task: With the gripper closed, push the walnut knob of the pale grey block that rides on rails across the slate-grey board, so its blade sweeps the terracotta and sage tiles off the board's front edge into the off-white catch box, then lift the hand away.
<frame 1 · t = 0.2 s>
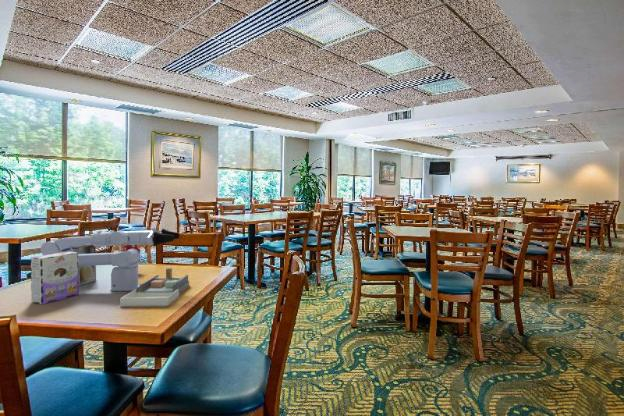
hand: (176, 236, 153), 21 cm above the table, tool horizontal, fingers open, 7 cm apart
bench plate: (165, 290, 150), on the table
decorative mushroom: (130, 273, 183), on the table
terracotta tile: (157, 286, 150), point 2 cm above the table, touching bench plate
catch box: (151, 301, 136), on the table
coffee box: (82, 283, 162), on the table
candy box: (56, 299, 138), on the table
pale grey block: (169, 275, 155), point 5 cm above the table, slide at 0.0 cm
sage tile: (172, 286, 150), point 2 cm above the table, touching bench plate
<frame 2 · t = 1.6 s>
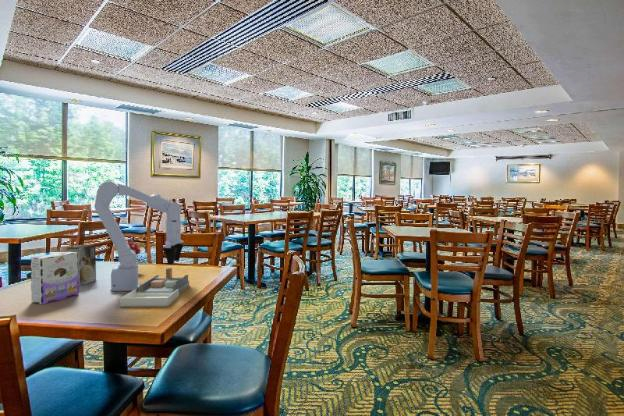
hand: (173, 262, 160), 9 cm above the table, tool pointing down, fingers open, 7 cm apart
nothing on the table moved.
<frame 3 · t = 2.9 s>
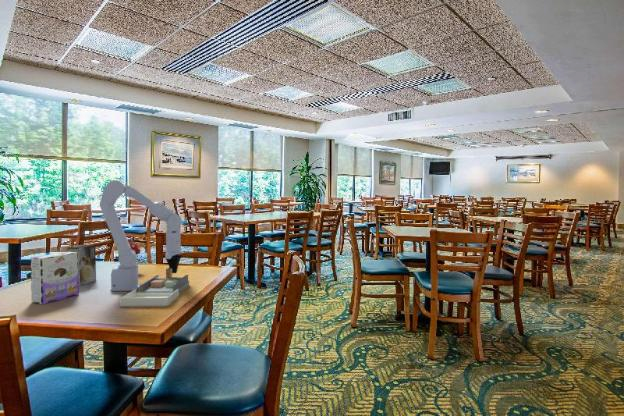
hand: (173, 272, 161), 5 cm above the table, tool pointing down, fingers closed
nothing on the table moved.
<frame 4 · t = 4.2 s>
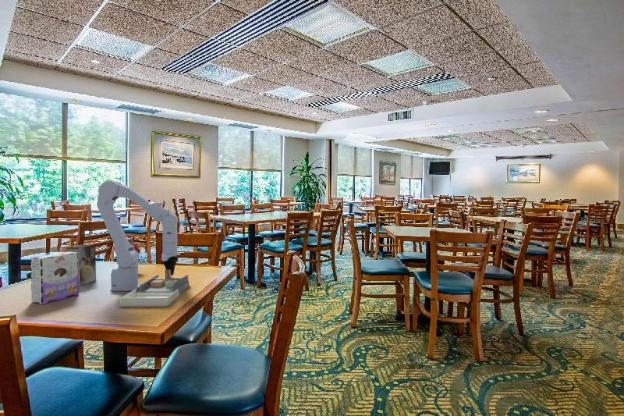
hand: (170, 275, 156), 5 cm above the table, tool pointing down, fingers closed
pale grey block: (168, 275, 154), point 5 cm above the table, slide at 1.0 cm, touching gripper
everything else where it was.
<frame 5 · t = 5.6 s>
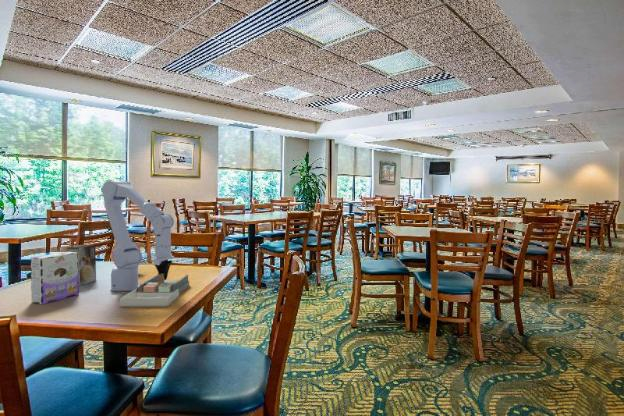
hand: (163, 279, 148), 5 cm above the table, tool pointing down, fingers closed
terracotta tile: (151, 290, 143), point 2 cm above the table
pale grey block: (161, 280, 146), point 5 cm above the table, slide at 9.1 cm, touching gripper
sage tile: (165, 290, 143), point 2 cm above the table
everything else where it was.
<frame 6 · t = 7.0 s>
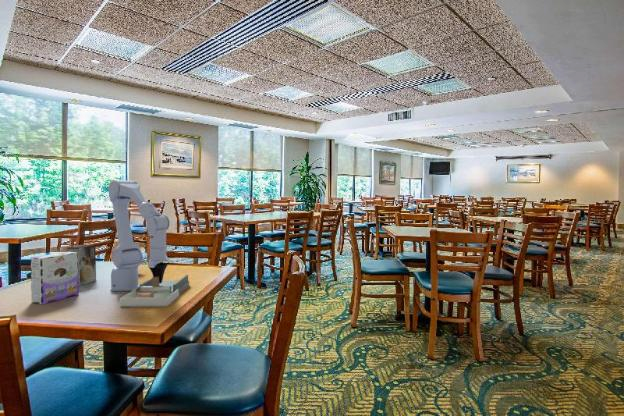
hand: (158, 283, 143), 5 cm above the table, tool pointing down, fingers closed
terracotta tile: (146, 298, 138), resting on catch box
pale grey block: (155, 283, 140), point 5 cm above the table, slide at 14.4 cm, touching gripper
sage tile: (161, 298, 138), resting on catch box
everything else where it was.
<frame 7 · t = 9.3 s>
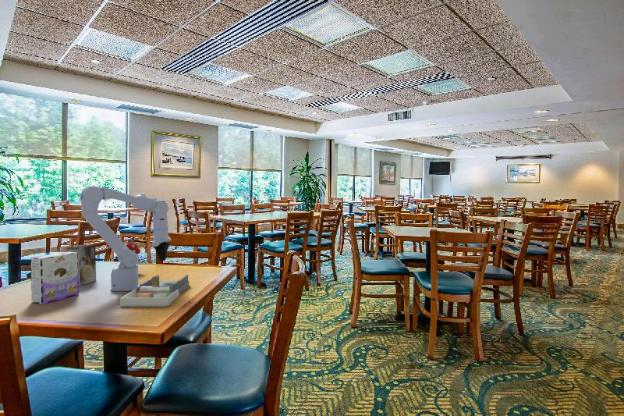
hand: (162, 260, 161), 10 cm above the table, tool pointing down, fingers closed
pale grey block: (155, 283, 140), point 5 cm above the table, slide at 14.6 cm
everything else where it was.
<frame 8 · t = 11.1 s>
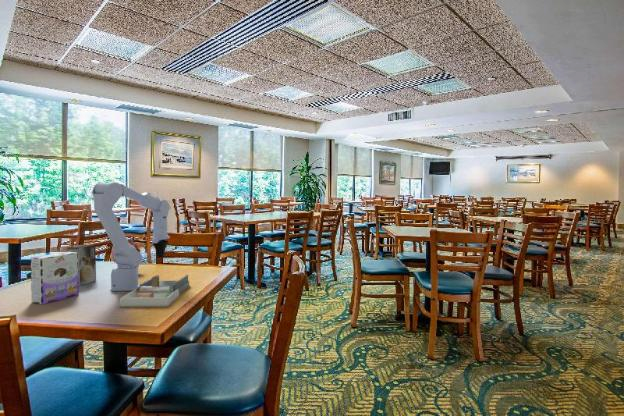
hand: (160, 257, 167), 10 cm above the table, tool pointing down, fingers closed
nothing on the table moved.
at the end: terracotta tile inside the target area (3.8 cm from its centre), resting on catch box; sage tile inside the target area (3.8 cm from its centre), resting on catch box; pale grey block slide at 14.6 cm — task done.
